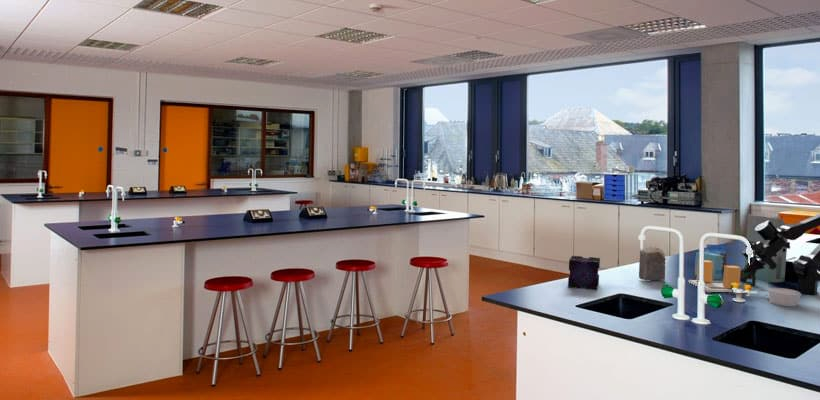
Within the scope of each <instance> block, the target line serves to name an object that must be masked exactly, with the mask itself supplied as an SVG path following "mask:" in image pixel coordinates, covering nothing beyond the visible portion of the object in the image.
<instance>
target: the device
mask: <svg viewBox="0 0 820 400" xmlns="http://www.w3.org/2000/svg"><path fill="white" fill-rule="evenodd" d="M766 221H770V222H771V223H772V224H773V226H774V227H775V228H780V227H781V226H783V225H787V223H785V220H783V218H781V217H780V216H777V215H776V216H775V215H760V214H759V215H757V214H753V213H751V214H747V225H746V238H745V239H747V240H750V241H753V242H756V243H757V242H758V241H759V242H762V243H763V244H764V245H765V244H766V243H767V242H768V241H769V240H764V239H763V238H762V237H761V236H760V235H759V234H758V233H757V232H756V231H755V228H756V226H757V225H759V224H761V223H763V222H766ZM777 235H778V234H777ZM778 236H779V237H780V235H778ZM783 239H784V240H785V241H786V242H789V241H788V240H789V239H785V238H783ZM787 251H788V248H784V247H783V248H782V249H781V250H780V251H779V252H777V253H776V254H777V256H776V257H774V256H773V257H772V259H773V260H774V262H775V263H776V264H777V267H776V268H775V269H774V270H771V269H769V265H768V264H767V265H765V266H764V267H765V268H764V269H759V270H756V274H755V280H761V281H764V282H767V283H784V282H785V276H786V264H787ZM754 254H755V253H754ZM747 262H748V260H747V259H746V257H745V256H744V267H745V266H746V264H747ZM744 267H743V268H744Z"/></svg>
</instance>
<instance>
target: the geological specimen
mask: <svg viewBox="0 0 820 400" xmlns="http://www.w3.org/2000/svg"><path fill="white" fill-rule="evenodd" d="M666 259H667V257H666V254H665V253H664V251H663V250H662V249H660V248H659V247H657V246H654V247H651V246H650V247H646V248H645V249H642V250H640V251H639V263H638V264H639V266H638V267H639V268H638V269H639V270H638V278H639V279H640V280H643V281H652V282H655V281H656V282H658V281H665V280H666Z"/></svg>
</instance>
